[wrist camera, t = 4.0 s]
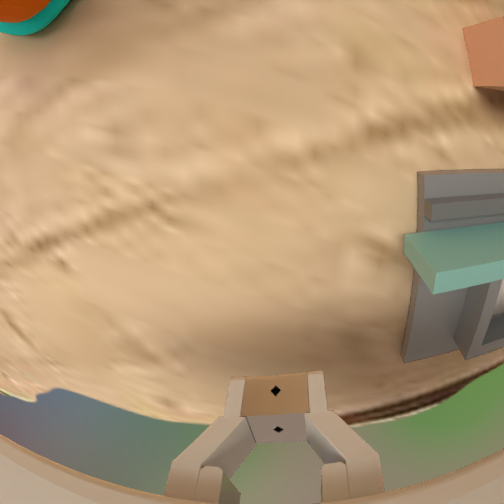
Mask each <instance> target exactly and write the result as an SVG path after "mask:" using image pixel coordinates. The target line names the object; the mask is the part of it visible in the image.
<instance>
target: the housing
mask: <svg viewBox="0 0 504 504" xmlns="http://www.w3.org/2000/svg"><path fill="white" fill-rule="evenodd" d="M417 179H418V210H417V233H420V232H428V231H436V230H444V229H452V228H460V227H468V226H476V225H484V224H492V223H500V222H504V169H466V170H438V171H419V172H417ZM502 347H504V279H501V280H497V281H493V282H489V283H484V284H480V285H476V286H471V287H467V288H462V289H457V290H453V291H448V292H443V293H438V294H432V293H431V291H430V290H429V288H428V287H427V285H426V284H425V282H424V281H423V279H422V278H421V277H420V275H419V274H418V272H417V271H416V269H415V268H414V274H413V283H412V291H411V299H410V306H409V313H408V319H407V325H406V331H405V336H404V341H403V346H402V351H401V356H402V359H403V362H404V363H406V362H411V361H415V360H420V359H424V358H428V357H432V356H436V355H440V354H444V353H448V352H451V351H455V350H458V349H459V350H460V351H461V353H462V355H463V357H464V359H465V360H467V359H471V358H474V357H477V356H480V355H483V354H486V353H488V352H491V351H494V350H497V349H500V348H502Z"/></svg>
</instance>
